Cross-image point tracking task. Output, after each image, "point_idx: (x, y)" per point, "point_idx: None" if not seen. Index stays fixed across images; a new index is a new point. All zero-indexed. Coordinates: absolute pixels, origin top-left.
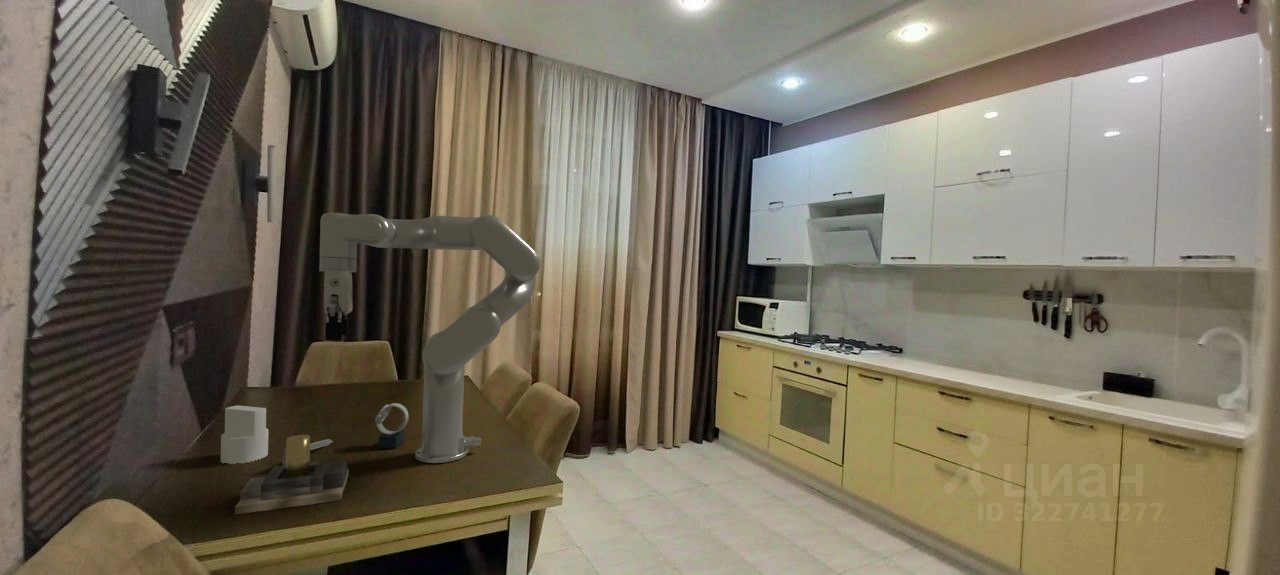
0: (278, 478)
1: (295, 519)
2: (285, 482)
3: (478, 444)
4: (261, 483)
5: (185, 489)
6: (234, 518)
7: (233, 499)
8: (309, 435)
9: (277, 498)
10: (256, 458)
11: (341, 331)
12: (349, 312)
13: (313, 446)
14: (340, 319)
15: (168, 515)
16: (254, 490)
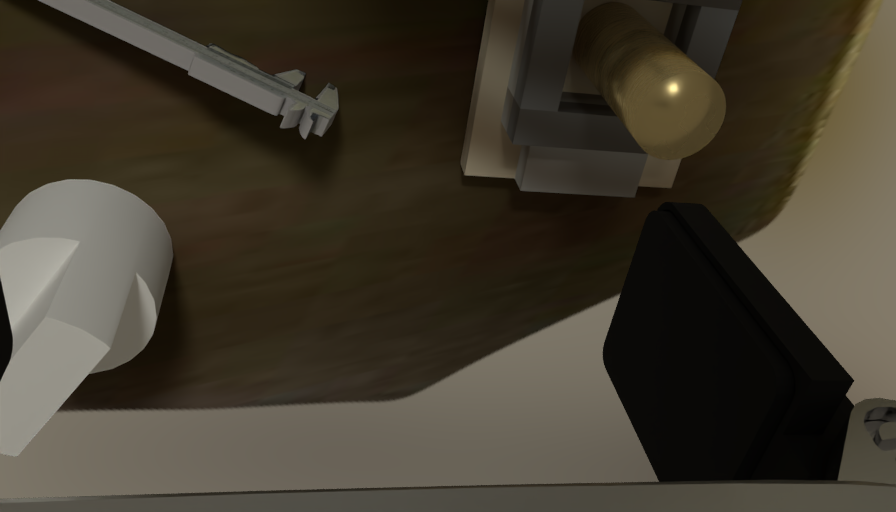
0: None
1: (811, 19)
2: None
3: None
4: (590, 155)
5: (381, 325)
6: (686, 173)
7: (537, 200)
8: (674, 75)
9: None
10: (146, 208)
11: (758, 275)
12: (614, 483)
13: (123, 13)
14: (880, 459)
15: (563, 311)
16: (644, 164)
